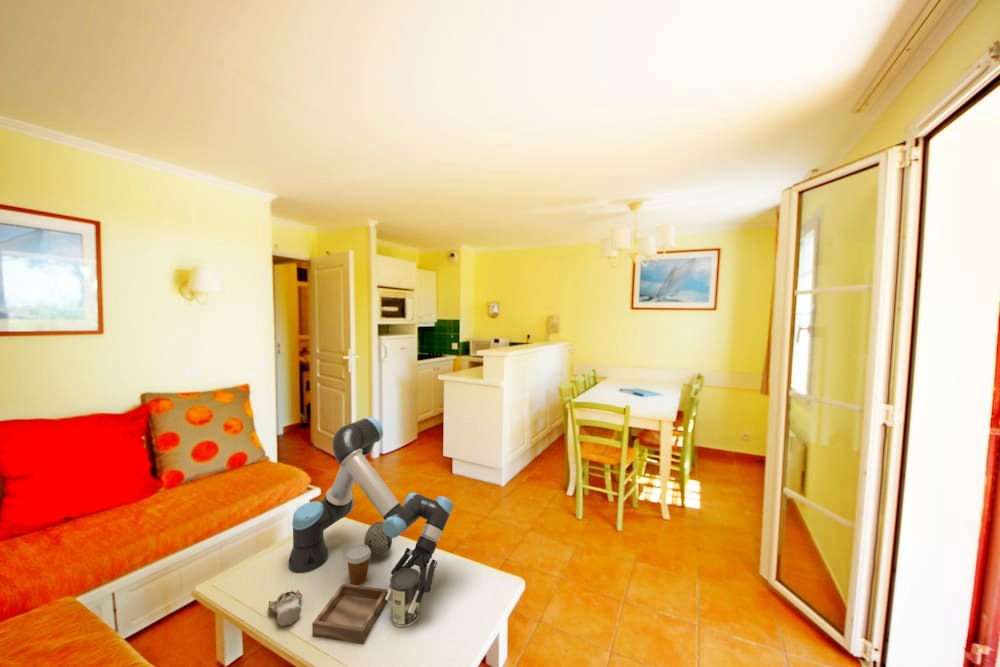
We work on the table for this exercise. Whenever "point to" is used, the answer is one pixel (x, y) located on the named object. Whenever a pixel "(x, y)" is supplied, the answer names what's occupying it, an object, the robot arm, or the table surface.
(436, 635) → the table surface
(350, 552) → the disposable coffee cup
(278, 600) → the ceramic sculpture
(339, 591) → the box
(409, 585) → the coffee can
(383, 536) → the decorative egg
